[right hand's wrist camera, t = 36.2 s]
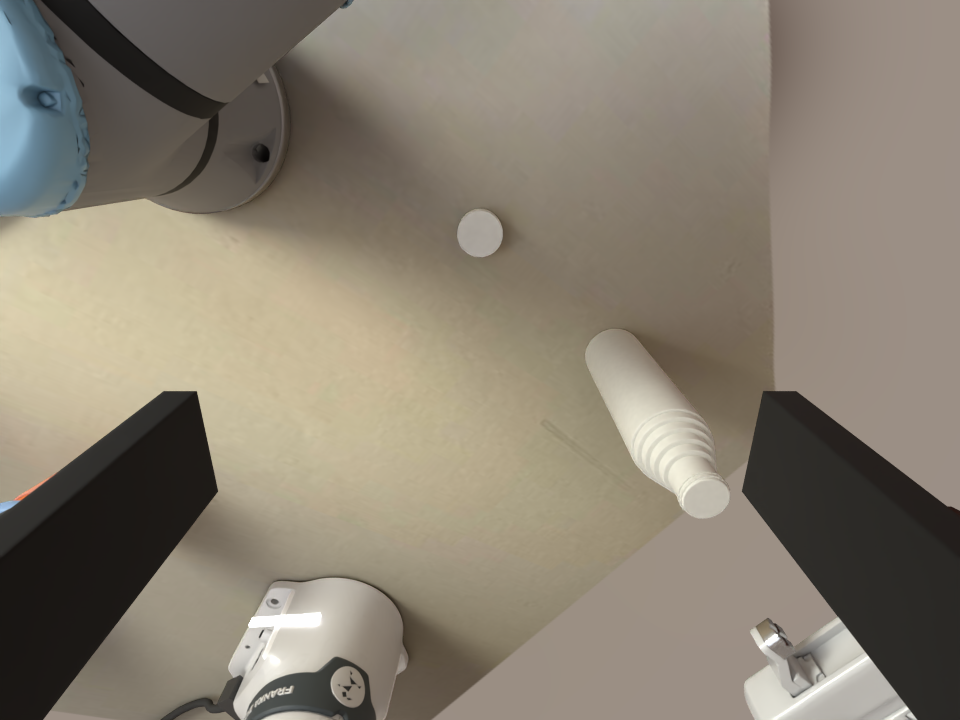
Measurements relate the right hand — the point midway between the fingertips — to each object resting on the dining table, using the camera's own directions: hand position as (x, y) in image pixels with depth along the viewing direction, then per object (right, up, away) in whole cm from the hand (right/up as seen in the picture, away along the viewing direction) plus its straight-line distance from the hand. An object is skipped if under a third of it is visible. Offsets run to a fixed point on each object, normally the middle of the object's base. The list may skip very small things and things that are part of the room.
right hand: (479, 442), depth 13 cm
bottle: (+12, +2, +37) cm, 39 cm away
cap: (0, +12, +32) cm, 34 cm away
